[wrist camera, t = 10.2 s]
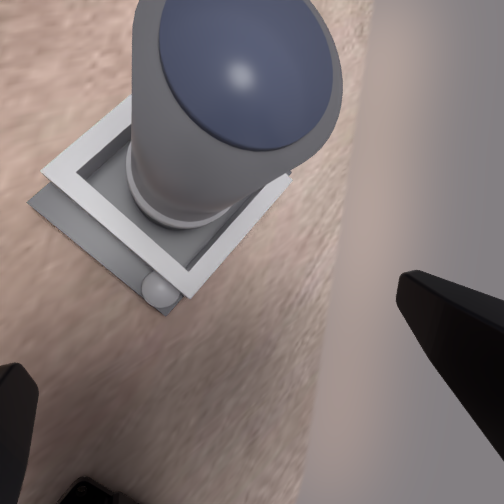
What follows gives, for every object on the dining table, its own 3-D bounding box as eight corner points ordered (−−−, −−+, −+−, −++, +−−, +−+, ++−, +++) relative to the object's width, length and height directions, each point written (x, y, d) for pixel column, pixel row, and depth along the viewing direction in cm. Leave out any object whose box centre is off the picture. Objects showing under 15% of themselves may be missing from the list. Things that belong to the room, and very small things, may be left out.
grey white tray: (164, 314, 19) (170, 322, 16) (32, 206, 17) (12, 194, 14) (284, 176, 22) (307, 163, 19) (187, 70, 20) (196, 39, 17)
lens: (180, 252, 18) (264, 230, 7) (104, 184, 17) (51, 15, 6) (240, 188, 20) (391, 82, 8) (174, 121, 19) (246, -116, 7)
